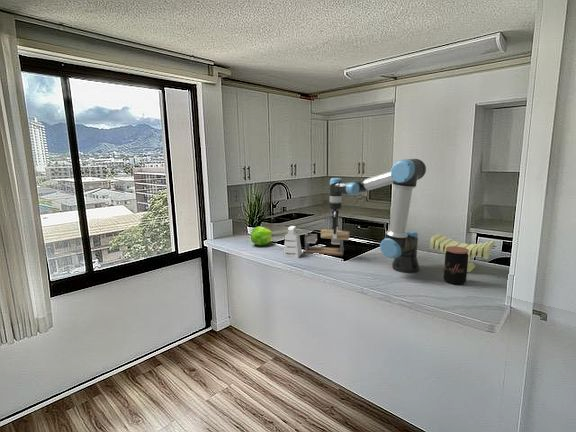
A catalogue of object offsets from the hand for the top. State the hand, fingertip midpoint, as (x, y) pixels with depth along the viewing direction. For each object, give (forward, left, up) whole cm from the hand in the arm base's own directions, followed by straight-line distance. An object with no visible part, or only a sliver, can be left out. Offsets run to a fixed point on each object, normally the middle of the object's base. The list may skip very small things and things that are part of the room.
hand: (335, 237), depth 211 cm
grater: (0, +29, -14) cm, 32 cm away
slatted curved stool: (-6, -74, -14) cm, 76 cm away
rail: (0, 0, -1) cm, 1 cm away
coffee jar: (-29, -66, -14) cm, 73 cm away
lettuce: (+22, +58, -14) cm, 64 cm away
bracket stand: (+12, +9, -14) cm, 21 cm away
